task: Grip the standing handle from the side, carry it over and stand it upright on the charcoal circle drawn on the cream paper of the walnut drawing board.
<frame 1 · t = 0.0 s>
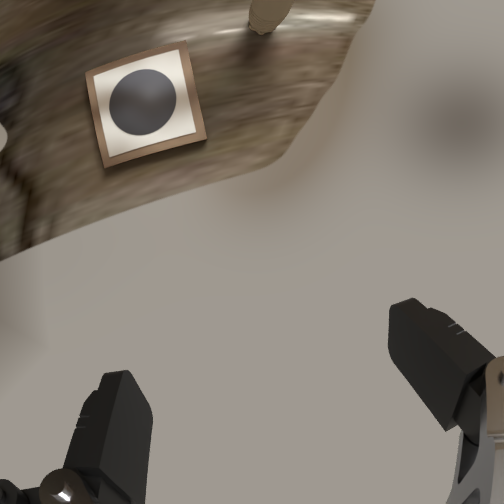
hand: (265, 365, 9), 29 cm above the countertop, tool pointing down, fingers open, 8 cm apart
handle: (261, 25, 30), on the countertop
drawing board: (145, 103, 31), on the countertop
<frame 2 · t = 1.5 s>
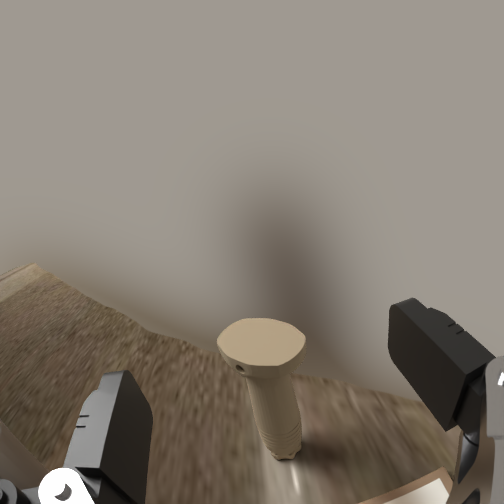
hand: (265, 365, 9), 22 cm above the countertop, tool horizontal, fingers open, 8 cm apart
handle: (285, 450, 27), on the countertop
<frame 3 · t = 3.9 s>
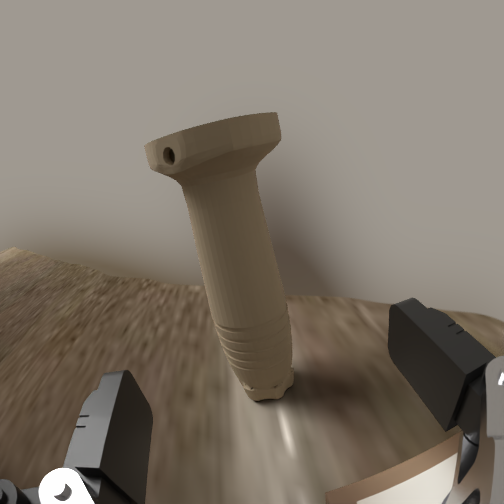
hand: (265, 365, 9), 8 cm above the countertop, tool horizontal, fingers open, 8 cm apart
handle: (268, 387, 18), on the countertop
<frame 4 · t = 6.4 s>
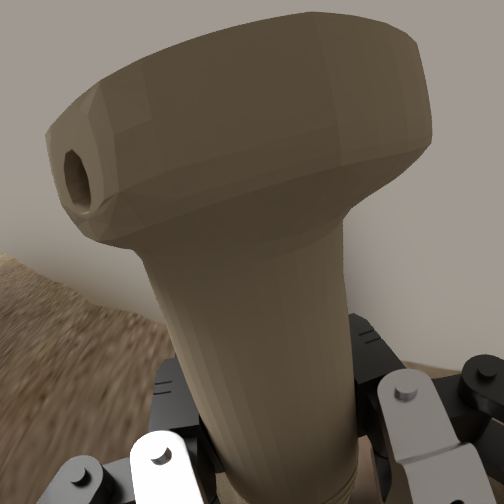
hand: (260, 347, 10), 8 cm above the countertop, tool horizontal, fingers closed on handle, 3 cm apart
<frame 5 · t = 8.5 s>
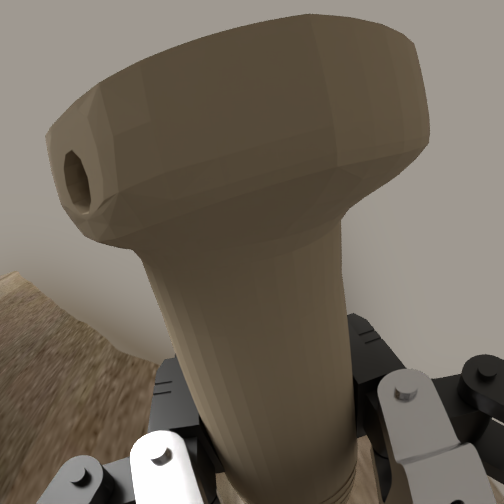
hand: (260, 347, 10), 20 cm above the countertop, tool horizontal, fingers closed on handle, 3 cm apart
when the fingers open (11 cm above the countertop, at t = 11.1 s): handle drops 1 cm, resting on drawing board.
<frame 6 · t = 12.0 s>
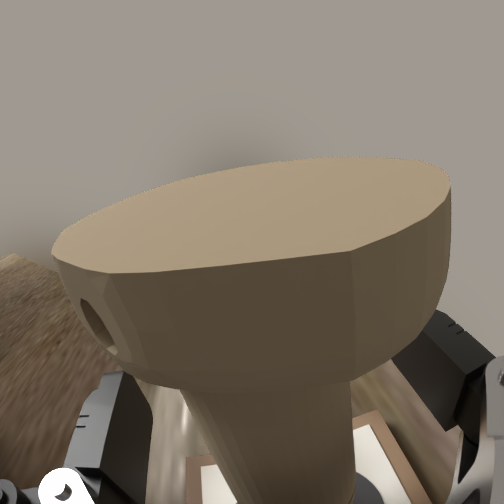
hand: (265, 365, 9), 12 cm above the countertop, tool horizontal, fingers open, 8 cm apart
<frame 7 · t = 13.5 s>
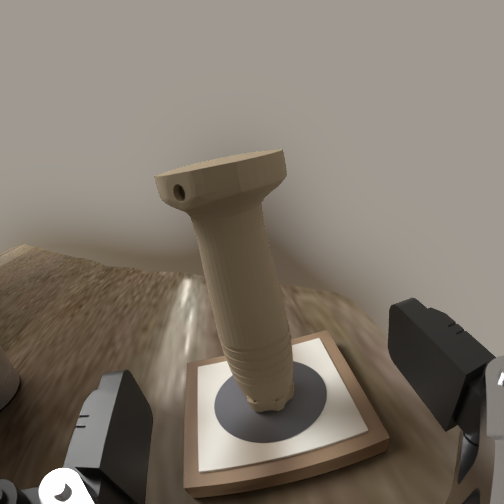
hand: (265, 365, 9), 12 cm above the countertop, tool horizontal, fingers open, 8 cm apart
handle: (270, 399, 19), point 2 cm above the countertop, touching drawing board
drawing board: (273, 413, 20), on the countertop
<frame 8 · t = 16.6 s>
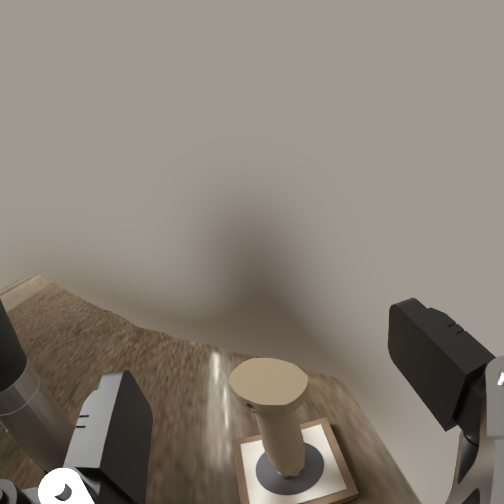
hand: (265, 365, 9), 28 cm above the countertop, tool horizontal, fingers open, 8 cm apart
handle: (290, 468, 28), point 2 cm above the countertop, touching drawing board
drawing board: (291, 473, 29), on the countertop
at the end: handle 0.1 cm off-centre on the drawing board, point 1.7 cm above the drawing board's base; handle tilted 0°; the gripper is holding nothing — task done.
